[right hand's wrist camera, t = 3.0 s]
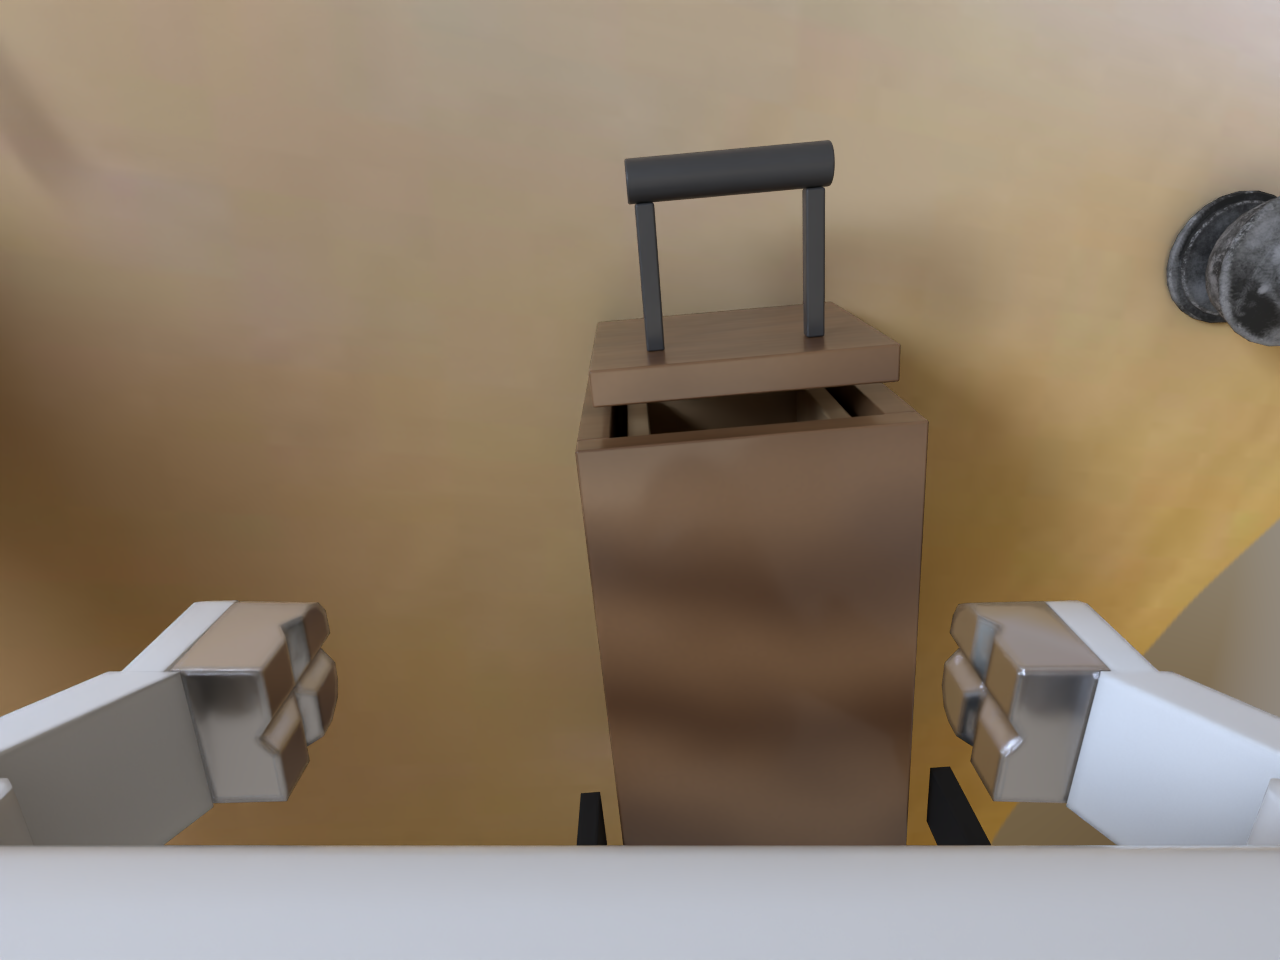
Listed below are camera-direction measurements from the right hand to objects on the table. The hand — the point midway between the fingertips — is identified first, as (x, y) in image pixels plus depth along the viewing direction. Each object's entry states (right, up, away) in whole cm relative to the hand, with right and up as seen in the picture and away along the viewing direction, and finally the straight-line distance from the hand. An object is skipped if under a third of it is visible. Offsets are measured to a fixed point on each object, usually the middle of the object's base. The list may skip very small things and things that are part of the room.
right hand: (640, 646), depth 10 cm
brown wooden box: (+4, -2, +27) cm, 28 cm away
